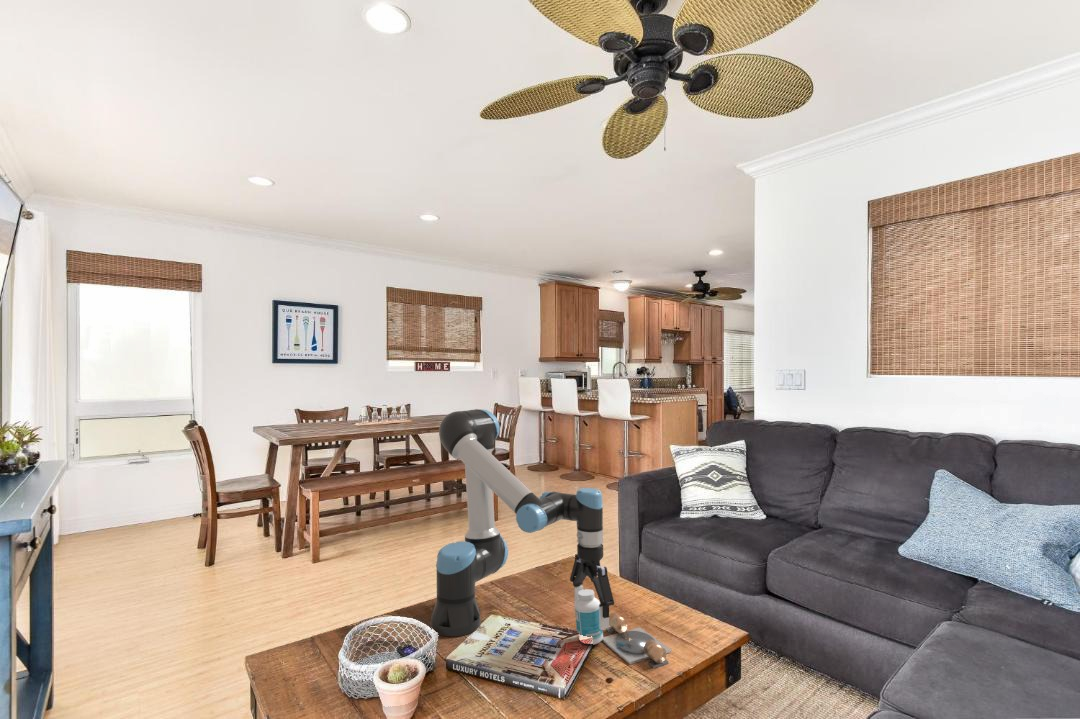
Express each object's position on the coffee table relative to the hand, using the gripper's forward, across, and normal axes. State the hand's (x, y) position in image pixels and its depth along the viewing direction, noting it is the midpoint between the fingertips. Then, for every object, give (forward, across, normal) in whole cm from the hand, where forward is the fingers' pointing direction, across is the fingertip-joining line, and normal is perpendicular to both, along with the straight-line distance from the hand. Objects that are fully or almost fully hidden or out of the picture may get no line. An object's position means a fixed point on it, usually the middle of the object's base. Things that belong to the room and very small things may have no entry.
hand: (591, 618), depth 150 cm
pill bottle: (+6, 0, 0) cm, 6 cm away
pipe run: (+7, +8, +10) cm, 14 cm away
